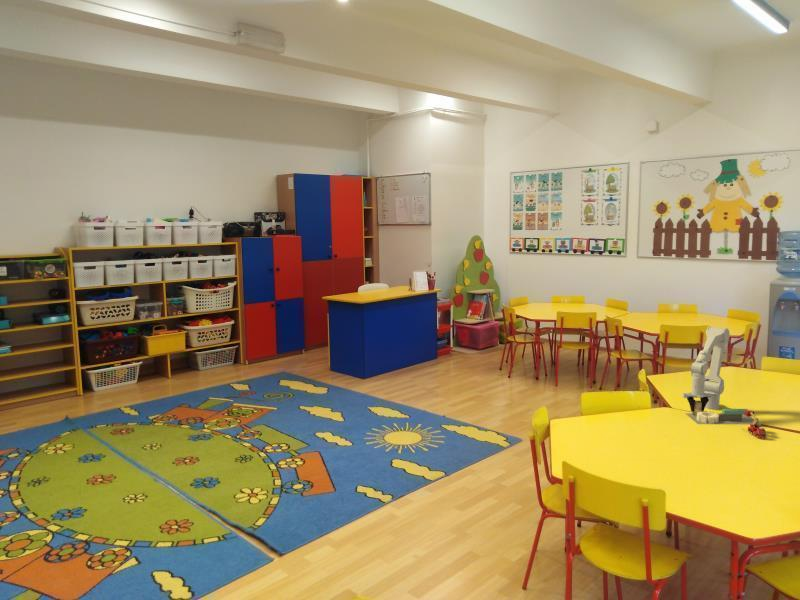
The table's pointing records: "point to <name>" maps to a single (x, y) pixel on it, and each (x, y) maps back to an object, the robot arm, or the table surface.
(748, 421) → the board
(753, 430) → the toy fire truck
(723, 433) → the table surface
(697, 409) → the peg
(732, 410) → the bar
